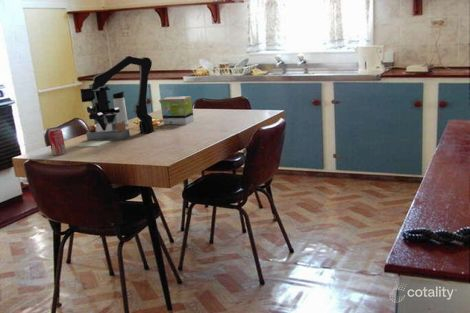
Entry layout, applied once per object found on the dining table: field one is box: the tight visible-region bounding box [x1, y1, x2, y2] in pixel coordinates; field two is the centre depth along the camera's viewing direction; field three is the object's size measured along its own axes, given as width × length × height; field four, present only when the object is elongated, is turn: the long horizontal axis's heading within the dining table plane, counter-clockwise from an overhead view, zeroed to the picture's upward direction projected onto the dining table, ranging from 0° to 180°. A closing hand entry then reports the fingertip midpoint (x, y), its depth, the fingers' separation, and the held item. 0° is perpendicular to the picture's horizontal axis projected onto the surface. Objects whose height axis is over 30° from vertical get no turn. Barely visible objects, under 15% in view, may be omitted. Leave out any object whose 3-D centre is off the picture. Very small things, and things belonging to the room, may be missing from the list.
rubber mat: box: [78, 140, 111, 148], centre depth 260 cm, size 12×10×1 cm
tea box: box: [160, 95, 195, 125], centre depth 295 cm, size 15×10×15 cm, turn 68°
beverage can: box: [47, 127, 67, 156], centre depth 244 cm, size 6×6×12 cm
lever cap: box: [94, 120, 118, 132], centre depth 270 cm, size 10×5×5 cm, turn 67°
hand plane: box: [85, 123, 131, 141], centre depth 271 cm, size 22×7×8 cm, turn 67°
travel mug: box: [112, 91, 129, 127], centre depth 303 cm, size 6×7×20 cm
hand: (107, 129), depth 271 cm, fingers closed on lever cap, 5 cm apart
